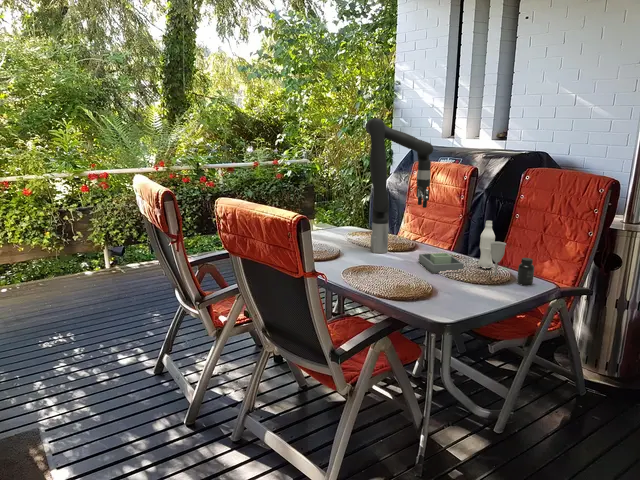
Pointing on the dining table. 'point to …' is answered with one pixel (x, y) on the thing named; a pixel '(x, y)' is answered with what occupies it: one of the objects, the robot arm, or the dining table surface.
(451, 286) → the dining table surface
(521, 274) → the supplement bottle
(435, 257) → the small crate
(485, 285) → the dining table surface
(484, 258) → the water bottle
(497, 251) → the chalice
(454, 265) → the grey tray
